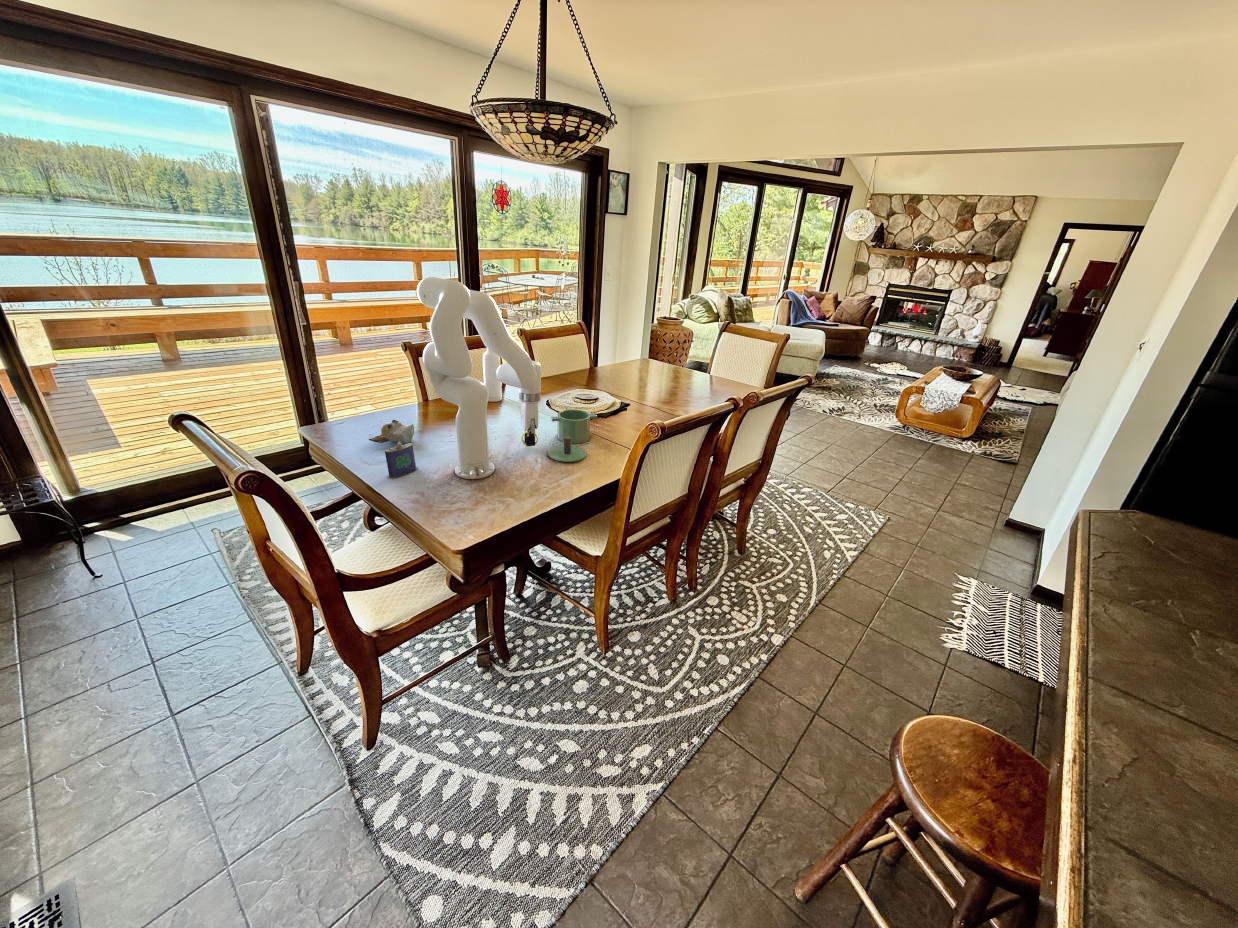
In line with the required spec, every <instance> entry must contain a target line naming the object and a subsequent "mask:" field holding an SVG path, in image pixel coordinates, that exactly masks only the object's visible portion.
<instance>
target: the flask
mask: <svg viewBox="0 0 1238 928" xmlns="http://www.w3.org/2000/svg"><path fill="white" fill-rule="evenodd" d="M396 443H397V445H395V446H394V447H392V448H391V447H389V448H387V449H386V450H384V454H385V455H384V456H385V460H386V461H385V462H386V466H387V467H386V468H387V471H388V477H389V478H390V479H395V478H399V477H401V476H405V475H406V474H410V473H412V472H414V471H416V470H417V464H416V456H415V450H414V444H413V443H411V442H410V443H407V444H406V443H404V442H402V441H398V442H396ZM403 443H404V444H403Z"/></svg>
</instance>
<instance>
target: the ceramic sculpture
mask: <svg viewBox="0 0 1238 928" xmlns="http://www.w3.org/2000/svg"><path fill="white" fill-rule="evenodd" d="M414 425H415V424H413V423H411V424H407V425H406V424H405V425H404V424H402V422H401V421H399V420H396V419H392V420H391V422H390V421H389V422H386V423H385V424H383V425H382V427H381V428H380V434H379V435H376V436H374V437H372V438H368V441H371V442H374V443H376V444H385V443H397V442H402V443H404V444H408V443H411V442H413V439H414V435H415V426H414Z"/></svg>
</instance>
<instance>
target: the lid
mask: <svg viewBox="0 0 1238 928" xmlns="http://www.w3.org/2000/svg"><path fill="white" fill-rule="evenodd" d="M547 453H548V456H549V458H551V459H552V460H555V461H558V462H564V463H572V462H578V461H581V460H583V459H585V458H586V455H587V451H586V450H585V449H584V448H582V447H580V446H576V445H572V443H571V437H570V436H564V442H563V444H562V445H557V446H553V447H551V448H550V449H549V450H548V452H547Z"/></svg>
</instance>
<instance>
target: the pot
mask: <svg viewBox="0 0 1238 928" xmlns="http://www.w3.org/2000/svg"><path fill="white" fill-rule="evenodd" d="M591 419H593V420H594V419H598V415H597V414H595V413H590V412H588V411H586V410H582V409H576V408H575V409H574V408H573V409H572V408H571V409H570V408H569V409H564V410H560V411H559V412H557V416H550V420H551V422H557V432H556V434H557V435H556V436H557V439H558V440H559V441H561V442H563V443H564V436H570V437H571V444H574V445H575V444H583V443H585V442H587V441H589V440H590V437H591Z"/></svg>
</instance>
